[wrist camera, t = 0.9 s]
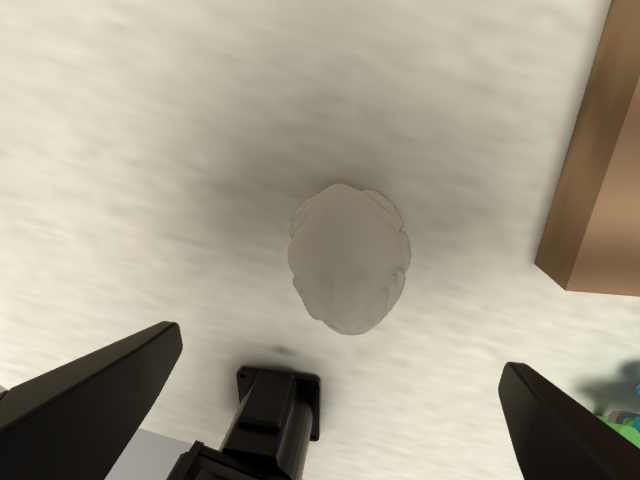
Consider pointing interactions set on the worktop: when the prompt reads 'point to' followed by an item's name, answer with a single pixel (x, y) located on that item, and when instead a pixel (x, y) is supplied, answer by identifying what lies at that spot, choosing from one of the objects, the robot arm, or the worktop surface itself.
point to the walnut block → (601, 172)
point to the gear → (625, 423)
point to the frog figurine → (348, 257)
